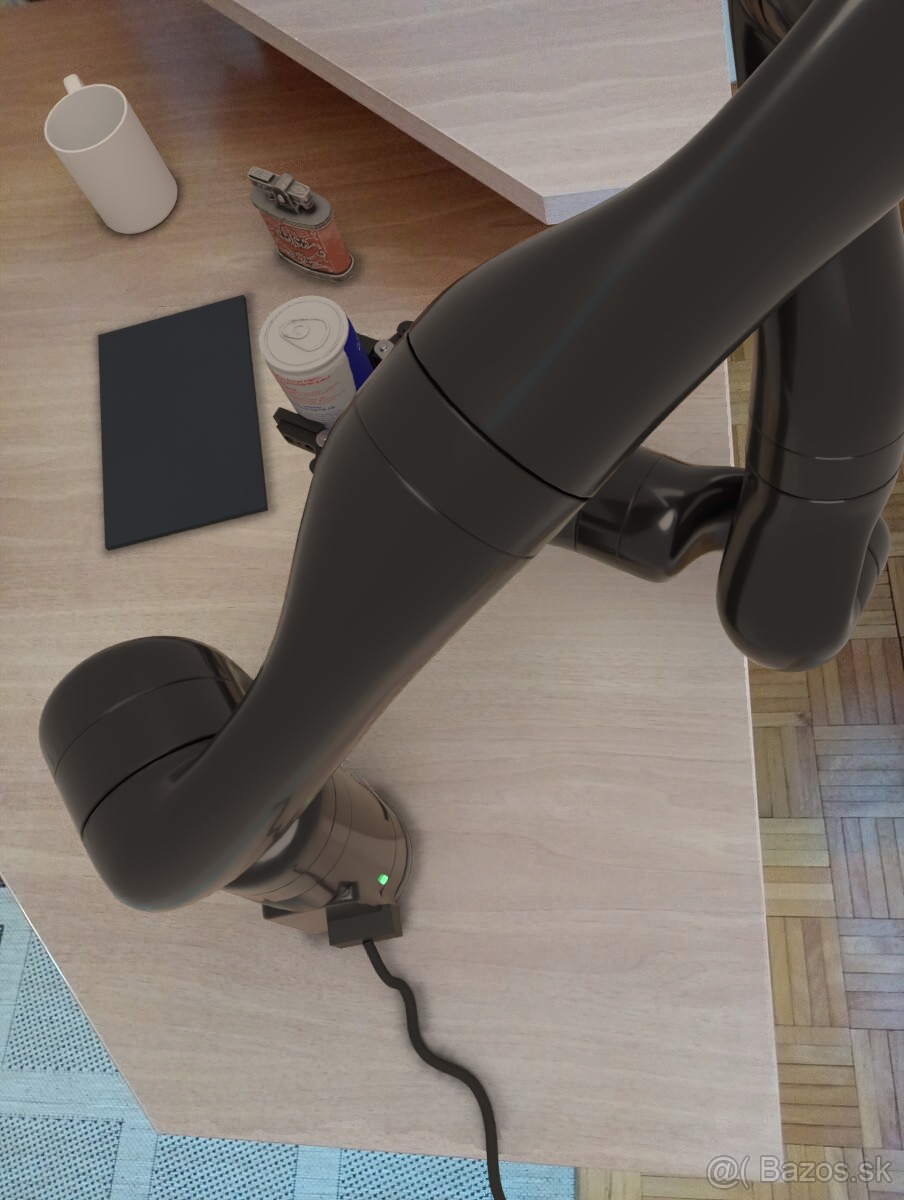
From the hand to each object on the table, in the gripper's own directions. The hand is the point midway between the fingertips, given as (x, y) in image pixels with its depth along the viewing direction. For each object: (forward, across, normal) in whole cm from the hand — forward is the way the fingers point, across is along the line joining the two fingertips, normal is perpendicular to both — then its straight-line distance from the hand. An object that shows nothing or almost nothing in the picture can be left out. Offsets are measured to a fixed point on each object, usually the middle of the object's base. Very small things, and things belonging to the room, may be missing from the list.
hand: (305, 381), depth 69 cm
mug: (+41, -20, +17) cm, 48 cm away
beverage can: (-3, 0, +9) cm, 9 cm away
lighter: (+18, -19, +18) cm, 31 cm away
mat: (+21, 0, +17) cm, 27 cm away
